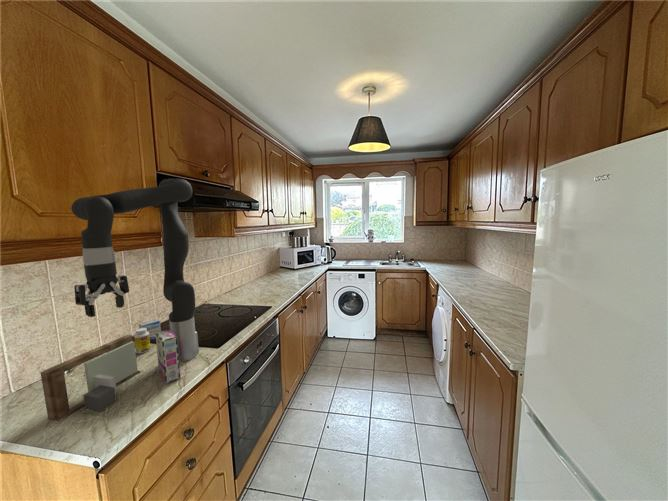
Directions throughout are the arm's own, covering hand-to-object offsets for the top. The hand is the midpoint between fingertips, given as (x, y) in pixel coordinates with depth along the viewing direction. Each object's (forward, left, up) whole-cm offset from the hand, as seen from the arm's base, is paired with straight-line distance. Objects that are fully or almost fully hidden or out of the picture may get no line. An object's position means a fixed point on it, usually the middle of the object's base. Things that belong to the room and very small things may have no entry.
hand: (106, 311), depth 86 cm
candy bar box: (-15, +6, -30) cm, 34 cm away
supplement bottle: (-28, -22, -30) cm, 47 cm away
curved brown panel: (-1, -9, -30) cm, 31 cm away
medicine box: (-39, -30, -30) cm, 58 cm away
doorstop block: (+4, -2, -30) cm, 30 cm away
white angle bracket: (-5, -4, -29) cm, 30 cm away
